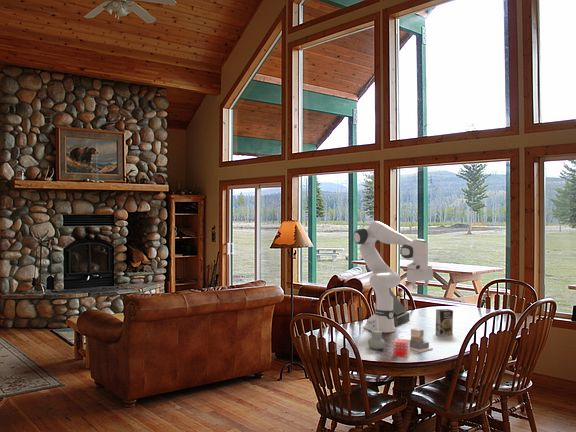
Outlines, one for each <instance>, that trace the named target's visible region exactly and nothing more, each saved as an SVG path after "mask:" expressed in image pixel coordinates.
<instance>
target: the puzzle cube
mask: <svg viewBox="0 0 576 432" xmlns="http://www.w3.org/2000/svg"><path fill="white" fill-rule="evenodd" d="M410 340H411V339H405V338H404V339H403V338H395V339H394V340H393V342H392V343H393V344H392V345H393V347H392V348H393V349H392V356H393V357H401V358H408V357H409V356H410V354H411V350H410Z"/></svg>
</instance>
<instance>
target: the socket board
mask: <svg viewBox="0 0 576 432" xmlns="http://www.w3.org/2000/svg"><path fill="white" fill-rule="evenodd" d="M409 340H410V351H414V352H418V353H422V352H427V351H432V350H434V347H432V346H431V347H430V342H429V341H425V340H423V343H415V342H412V341H411V339H409Z"/></svg>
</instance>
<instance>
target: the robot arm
mask: <svg viewBox="0 0 576 432" xmlns="http://www.w3.org/2000/svg"><path fill="white" fill-rule="evenodd" d="M352 239H353V241H354V242H355V244H357V245H359V247H358V248H359V252H360V255H361V257H362V258H363V261H364V262H365V264H366V266H367V268H368V270H369V271H371V272H372V273H374V274H371V276H370V277H369V282H368V283H369V285H370V287H371V288H372V289H373V291H374V293H375V297H376V298H375V299H376V301H375V302H376V308H375V309H373V312H374V313H373V314H374V315H371V316H370V317H369V318H368V319H367V321H366V325H363V329H366V330H369V331H371V332H372V331H374V330H378V331H381V332H382V333H394V332H396V326H395V325H394V317H393V315H394V310H393V297H392V296H391V295H390V293H389V288H390V289H393V288H395V287H397V286H399V285H400V283H401V276H400V274H399V273H398V272H396V271H395V270H392V268H391V267H389V265H388V264H387V263H385V261H384V260H383V258H382V257H381V255H380V253H379V251H378V249H377V248H376V244H379V242H381V243H383V244H385V245H386V244H387V245H397V246H398V245H400V246H401V247H400V255H401V257H402V258H403V259H406V260H412V262H411V263H409V264H407V265H406V268H407V270H406V281H407V282H409V283H411V285H412V289H413V290H417V288H418V287H417V285H416V282H423V281H424V284H423V285H422V287H423V288H424V289H426V288H428V285H429V282H430V281H432V280H433V279H434V271H433V266H432V265H431V264H429V260H428V255H429V244H428V241H427V240H426V239H423V238H414V240H413V239H411V238H410V237H408V236H406V235H404V234H402V233H400V232H398V231H396V230H394V229H393V228H392V227H390V226H389V225H387V224H385V223H383V222H381V221H378V220H373V221H372V222H371V223H370V224H369V225H368V226H365V227H363V228H358V229H357V230H355V231H354V232H353V236H352Z"/></svg>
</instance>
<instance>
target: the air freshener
mask: <svg viewBox="0 0 576 432" xmlns="http://www.w3.org/2000/svg"><path fill="white" fill-rule="evenodd" d="M382 336H383V332H381V331H378V330H374V331H371V338H369V339H368V341H367V344H368V348H370V349H372V350H377V351H378V350H379V351H380V350H382V349H384V348H385V347H386V340H385V339H383V337H382Z"/></svg>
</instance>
